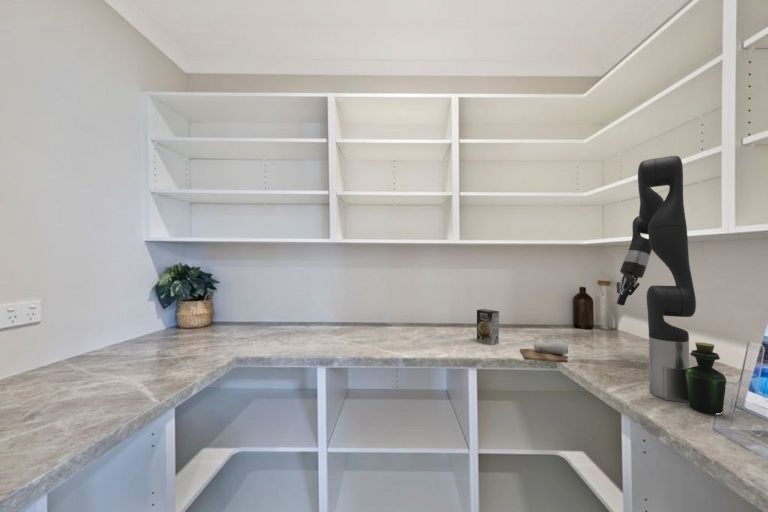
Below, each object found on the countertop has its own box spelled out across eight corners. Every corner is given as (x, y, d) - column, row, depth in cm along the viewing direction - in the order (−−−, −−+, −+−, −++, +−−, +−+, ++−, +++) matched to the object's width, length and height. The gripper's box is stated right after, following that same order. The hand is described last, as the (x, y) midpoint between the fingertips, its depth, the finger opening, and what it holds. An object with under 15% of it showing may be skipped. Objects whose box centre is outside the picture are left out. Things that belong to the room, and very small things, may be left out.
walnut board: (558, 352, 145) (558, 351, 145) (567, 362, 132) (567, 360, 132) (519, 350, 149) (519, 348, 149) (524, 359, 136) (524, 357, 136)
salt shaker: (567, 351, 135) (533, 349, 141) (568, 357, 138) (535, 355, 145) (566, 338, 138) (533, 337, 145) (567, 345, 142) (535, 343, 148)
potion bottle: (681, 408, 90) (680, 343, 91) (689, 401, 95) (689, 339, 95) (723, 420, 84) (722, 349, 84) (730, 411, 88) (729, 345, 89)
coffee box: (476, 341, 165) (476, 309, 165) (484, 339, 169) (483, 308, 169) (491, 345, 158) (491, 312, 158) (499, 343, 162) (499, 310, 162)
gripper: (616, 262, 137) (602, 300, 136) (633, 258, 124) (618, 301, 123) (636, 268, 135) (621, 307, 134) (655, 265, 122) (639, 309, 121)
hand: (620, 304), depth 129 cm, fingers closed
